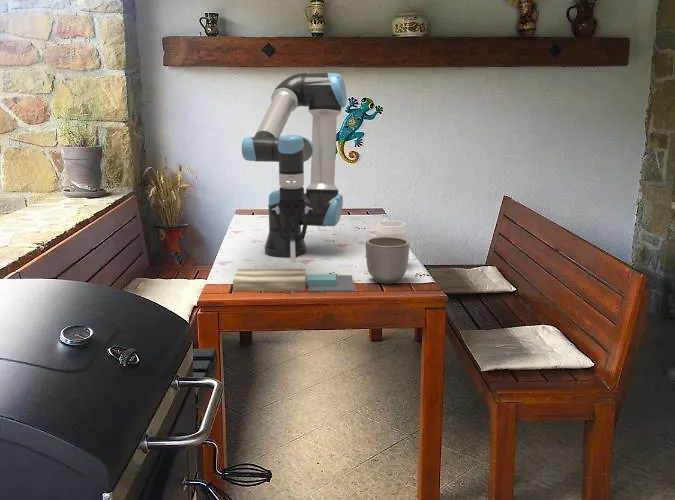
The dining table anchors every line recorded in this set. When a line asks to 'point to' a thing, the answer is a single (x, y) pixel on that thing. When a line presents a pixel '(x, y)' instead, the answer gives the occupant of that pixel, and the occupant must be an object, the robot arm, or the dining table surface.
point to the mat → (342, 285)
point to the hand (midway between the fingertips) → (293, 260)
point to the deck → (270, 280)
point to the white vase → (391, 229)
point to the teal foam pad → (321, 279)
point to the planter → (387, 258)
